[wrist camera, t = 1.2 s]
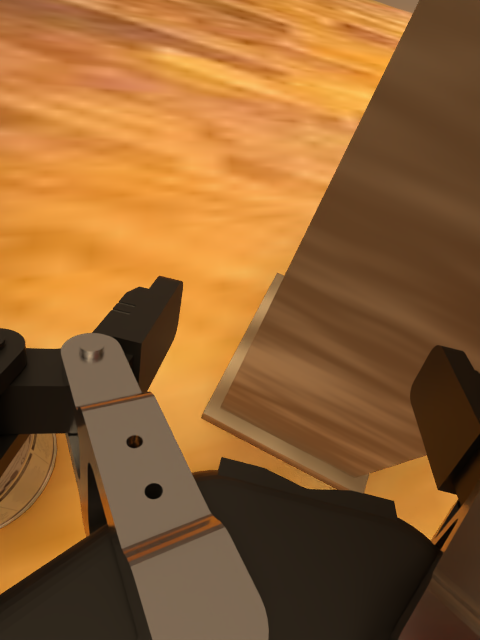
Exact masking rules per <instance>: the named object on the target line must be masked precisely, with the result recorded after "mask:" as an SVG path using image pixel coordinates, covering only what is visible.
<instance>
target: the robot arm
mask: <svg viewBox="0 0 480 640" xmlns="http://www.w3.org/2000/svg"><path fill="white" fill-rule="evenodd" d="M182 291H183V282H182V281H179V280H175V279H171V278H167V277H163V276H159V277H158V278H157V279H156V280H155V282H154V283H153V284H152V286H151V287H150V288H149V289H147V288H143V287H138V288H135V289H133V290H131V291H129V292H127V293H126V294H125V295H124V296H123V297H122V298H121V300H120V301H119V303H117V304H116V305H115V307H114V308H113V310H111V311H110V313H109V314H108V315H107V316H106V317H105V318H104V320H103V321H102V322H101V323H100V324H99V325H98V327H97V328H96V329H95V330H94V331H93V332H92V333H86V334H81V335H77V336H75V337H72V338H70V339H69V340H67V341H66V342H65V343H64V344H63V346H62V348H61V349H34V348H26V346H25V340H24V338H23V337H22V336H21V335H20V334H19V333H17V332H15V331H12V330H9V329H1V328H0V478H1V476H2V475H3V473H4V472H5V470H6V469H7V467H8V466H9V465H10V463H11V462H12V460H13V459H14V457H15V456H16V454H17V453H18V451H19V450H20V449H21V447H22V446H23V444H24V443H25V441H26V440H27V438H28V437H29V436H30V434H53V433H65V435H66V439H67V443H68V447H69V452H70V456H71V460H72V465H73V469H74V473H75V477H76V482H77V486H78V491H79V496H80V503H81V511H82V518H83V523H84V529H85V533H86V538H84V539H83V540H81V541H80V542H78V543H77V544H75V545H74V546H72V547H71V548H69V549H68V550H66V551H65V552H63V553H62V554H60V555H59V556H57V557H56V558H54V559H53V560H51V561H50V562H48V563H47V564H45V565H44V566H42V567H41V568H39V569H38V570H36V571H35V572H33V573H32V574H30V575H29V576H27V577H26V578H25V579H23V580H22V581H20V582H19V583H17V584H16V585H14V586H13V587H11V588H10V589H8V590H7V591H5V592H4V593H2V594H1V595H0V640H480V373H479V372H478V371H476V370H474V368H473V366H472V364H471V363H470V361H469V359H468V357H467V355H466V354H465V352H464V351H461V350H457V349H453V348H449V347H445V346H441V345H436V346H435V347H433V349H432V350H431V351H430V353H429V355H428V357H427V359H426V360H425V362H424V364H423V366H422V368H421V369H420V371H419V373H418V375H417V376H416V378H415V380H414V382H413V384H412V387H411V391H410V402H411V405H412V408H413V412H414V415H415V418H416V421H417V424H418V428H419V431H420V434H421V437H422V440H423V444H424V447H425V450H426V453H427V457H428V460H429V463H430V466H431V469H432V473H433V476H434V479H435V482H436V485H437V489H438V490H440V491H444V492H448V493H452V494H456V495H457V496H458V500H457V502H456V503H455V504H454V505H453V507H452V508H451V509H450V511H449V513H448V514H447V516H446V517H445V519H444V521H443V522H442V524H441V525H440V527H439V528H438V530H437V532H436V533H435V535H434V536H433V538H432V540H431V541H430V540H429V539H428V538H427V537H426V536H425V535H423V534H422V533H421V532H420V531H418V530H417V529H416V528H414V527H413V526H411V525H410V524H408V523H406V522H405V521H403V520H401V519H400V518H398V517H397V514H396V509H395V504H394V501H391V500H387V499H383V498H380V497H376V496H372V495H368V494H364V493H360V492H356V491H352V490H312V489H306V488H303V487H301V486H299V485H297V484H295V483H293V482H291V481H289V480H287V479H285V478H283V477H281V476H279V475H277V474H275V473H273V472H271V471H269V470H267V469H265V468H262V467H258V466H254V465H250V464H247V463H243V462H239V461H235V460H231V459H227V458H223V457H222V458H221V461H220V465H219V469H218V470H207V471H199V472H194V473H191V471H190V469H189V467H188V465H187V463H186V461H185V459H184V456H183V454H182V452H181V450H180V448H179V446H178V444H177V442H176V440H175V438H174V436H173V433H172V431H171V429H170V427H169V425H168V423H167V421H166V419H165V417H164V415H163V413H162V411H161V408H160V406H159V404H158V402H157V400H156V398H155V396H154V395H153V394H152V393H151V392H147V390H148V388H149V387H150V385H151V383H152V381H153V379H154V377H155V375H156V373H157V371H158V369H159V367H160V365H161V363H162V361H163V360H164V358H165V356H166V354H167V352H168V350H169V348H170V346H171V344H172V342H173V340H174V337H175V334H176V331H177V326H178V320H179V313H180V306H181V298H182Z"/></svg>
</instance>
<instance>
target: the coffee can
mask: <svg viewBox="0 0 480 640" xmlns="http://www.w3.org/2000/svg"><path fill="white" fill-rule="evenodd" d="M56 453H57V445H56V435H55V433H53V434H30V436H29V437H28V438H27V440H26V441H25V443H24V444H23V446H22V447H21V449H20V450H19V451H18V453H17V454H16V456H15V457H14V459H13V460H12V462H11V463H10V465H9V466H8V467H7V469H6V470H5V472H4V473H3V475H2V476H1V478H0V528H2V527H4V526H6V525H8V524H9V523H11V522H12V521H14V520H15V519H16V518H18V517H19V516H20V515H22V514H23V513H24V512H25V511H26V510H27V509H29V508H30V507H31V505H32V504H33V503H34V502H35V501H36V499H37V498H38V497H39V495H40V494H41V493H42V491H43V490H44V488H45V486H46V484H47V482H48V481H49V479H50V476H51V473H52V471H53V467H54V464H55V458H56Z"/></svg>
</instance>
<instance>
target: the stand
mask: <svg viewBox="0 0 480 640" xmlns="http://www.w3.org/2000/svg"><path fill="white" fill-rule="evenodd" d="M436 345H441V346H445V347H449V348H453V349H457V350H461V351H464V352H465V354H466V355H467V357H468V359H469V361H470V363H471V364H472V366H473V368H474V370H476V371H478V372H479V373H480V0H419V2H418V4H417V7H416V9H415V11H414V13H413V15H412V17H411V19H410V21H409V23H408V25H407V27H406V29H405V31H404V33H403V35H402V37H401V39H400V41H399V43H398V45H397V47H396V49H395V51H394V53H393V55H392V58H391V60H390V62H389V64H388V66H387V68H386V70H385V72H384V74H383V76H382V78H381V80H380V82H379V84H378V86H377V88H376V90H375V92H374V94H373V96H372V98H371V100H370V102H369V104H368V106H367V109H366V111H365V113H364V115H363V117H362V119H361V121H360V123H359V125H358V127H357V129H356V131H355V133H354V135H353V137H352V139H351V141H350V143H349V145H348V147H347V149H346V151H345V153H344V155H343V158H342V160H341V162H340V164H339V166H338V168H337V170H336V172H335V174H334V176H333V178H332V180H331V182H330V184H329V186H328V188H327V190H326V192H325V194H324V196H323V198H322V200H321V202H320V204H319V206H318V209H317V211H316V213H315V215H314V217H313V219H312V221H311V223H310V225H309V227H308V229H307V231H306V233H305V235H304V237H303V239H302V241H301V243H300V245H299V247H298V249H297V251H296V253H295V255H294V258H293V260H292V262H291V264H290V266H289V268H288V270H287V272H286V274H285V276H283V275H281V274H279V273H277V274H276V276H275V278H274V280H273V282H272V284H271V286H270V287H269V289H268V291H267V293H266V295H265V297H264V299H263V301H262V303H261V304H260V306H259V308H258V310H257V312H256V314H255V316H254V318H253V320H252V321H251V323H250V325H249V327H248V329H247V331H246V333H245V335H244V337H243V338H242V340H241V342H240V344H239V346H238V348H237V350H236V352H235V354H234V356H233V357H232V359H231V361H230V363H229V365H228V367H227V369H226V371H225V373H224V374H223V376H222V378H221V380H220V382H219V384H218V386H217V388H216V390H215V391H214V393H213V395H212V397H211V399H210V401H209V403H208V405H207V407H206V408H205V410H204V412H203V415H202V417H201V418H202V419H204V420H206V421H208V422H210V423H212V424H214V425H216V426H218V427H220V428H222V429H223V430H225V431H227V432H229V433H231V434H233V435H235V436H237V437H239V438H241V439H243V440H244V441H246V442H248V443H250V444H252V445H254V446H256V447H258V448H260V449H262V450H264V451H265V452H267V453H269V454H271V455H273V456H275V457H277V458H279V459H281V460H283V461H284V462H286V463H288V464H290V465H292V466H294V467H296V468H298V469H300V470H302V471H304V472H305V473H307V474H309V475H311V476H313V477H315V478H317V479H319V480H321V481H323V482H325V483H326V484H328V485H330V486H332V487H334V488H336V489H338V490H352V491H356V492H360V493H364V491H365V487H366V483H367V480H368V476H369V473H372V472H375V471H379V470H382V469H385V468H388V467H391V466H394V465H397V464H401V463H404V462H407V461H410V460H413V459H416V458H419V457H422V456H426V455H427V453H426V450H425V447H424V444H423V440H422V437H421V434H420V431H419V428H418V424H417V421H416V418H415V415H414V412H413V408H412V405H411V402H410V391H411V387H412V384H413V382H414V380H415V378H416V376H417V375H418V373H419V371H420V369H421V368H422V366H423V364H424V362H425V360H426V359H427V357H428V355H429V353H430V351H431V350H432V349H433V347H435V346H436Z"/></svg>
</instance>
